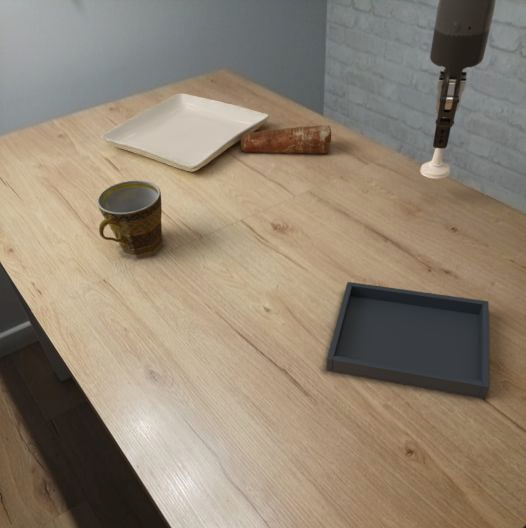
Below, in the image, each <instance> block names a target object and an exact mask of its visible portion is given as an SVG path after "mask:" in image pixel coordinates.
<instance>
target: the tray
mask: <svg viewBox="0 0 526 528" xmlns="http://www.w3.org/2000/svg"><path fill="white" fill-rule="evenodd" d="M489 308H490V307H489V300H482V299H476V298H475V299H474V298H468V297H461V296H460V297H459V296H452V295H448V294H447V295H445V294H438V293H432V292H425V291H418V290H417V291H416V290H409V289H402V288H396V287H395V288H394V287H388V286H381V285H374V284H366V283H359V282H352V281H347V282H346V286H345V290H344V293H343V297H342V300H341V305H340V308H339V311H338V315H337V319H336V323H335V326H334V331H333V334H332V338H331V341H330V345H329V349H328V352H327V356H326V366H325V371H326V372H330V373H336V374H339V375H340V374H341V375H347V376H352V377H357V378H363V379H369V380H373V381H380V382H386V383H392V384H395V385H396V384H397V385H402V386H409V387H413V388H419V389H425V390H430V391H436V392H441V393H445V394H453V395H457V396H464V397H469V398H475V399H481V400H485V398H486V396H487V394H488V391H489V389H490V319H489V318H490V314H489V313H490V309H489Z"/></svg>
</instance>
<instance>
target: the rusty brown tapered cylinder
mask: <svg viewBox="0 0 526 528" xmlns="http://www.w3.org/2000/svg"><path fill="white" fill-rule="evenodd" d="M331 140H332V129H331V126H330V125H329V124H325V125H324V124H320V125H319V124H318V125H306V126H296V127H285V128H277V129H269V130H261V131H254V132H252V133H246V134H244V135H243V136H242V139H241V140H240V148H241V150H242V151H243V153H257V154H258V153H260V154H309V155H311V154H312V155H319V154H326V153H328V152H329V146H330V144H331V142H332V141H331Z"/></svg>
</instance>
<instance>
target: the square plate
mask: <svg viewBox="0 0 526 528" xmlns="http://www.w3.org/2000/svg"><path fill="white" fill-rule="evenodd" d="M269 117H270V114H268V113H264V112H261V111H258V110H254V109H250V108H247V107H244V106H240V105H236V104H231V103H227V102H223V101H219V100H215V99H211V98H207V97H201V96H198V95H192V94H187V93H182V92H180V93H177V94H176V93H175V94H174V95H172V96H170V97H168V98H166V99H164V100H162V101H160V102H158V103H157V104H154V105H152V106H150V107H149V108H147V109H145V110H143V111H141V112H139V113H137V114H136V115H134V116H132V117H130V118H129V119H127V120H125V121H123V122H122V123H120V124H118V125H117V126H115V127H113V128H111V129H110V130H108V131H106V132H104V133H103V134H101V135H100V136H99V138H100V140H102V141H104V142H105V143H107V144H109V145H111V146H113V147H116V148H119V149H121V150H124V151H128V152H131V153H135V154H137V155H139V156H144V157H146V158H149V159H152V160H155V161H158V162H160V163H162V164H165V165H168V166H171V167H174V168H177V169H180V170H182V171H187V172H192V173H193V172H196V171H199V170H200V169H201V168H203V167H204V166H206V165H208V164H209V163H210V162H211V161H213V160H214V159H215V158H217V157H218V156H220V155H221V154H222V153H224V152H225V151H227V150H228V149H230V148H231V147H232V146H233V145H235V144H237V143H238V142H241V139H242V136H243V135H244V134H246V133H253V132H256V130H258V129H259V128H261V126H263V125H264V123H266V121H267V120H268V119H269Z"/></svg>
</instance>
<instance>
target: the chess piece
mask: <svg viewBox="0 0 526 528" xmlns="http://www.w3.org/2000/svg"><path fill="white" fill-rule="evenodd" d="M447 118H449V117H447ZM434 149H435V150H434V152H433V155H432V159H431V160H429V161H426V162H424V163H423V164H422V165H421V167H420V169H419V173H420V174H421V175H422V176H424V177H425V178H429V179H433V180H439V179H443V178H447V177H448V176H449V175H450V173H451V167H450V165H448V164H447V163H445V162H444V161H443V150H444V148H434Z"/></svg>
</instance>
